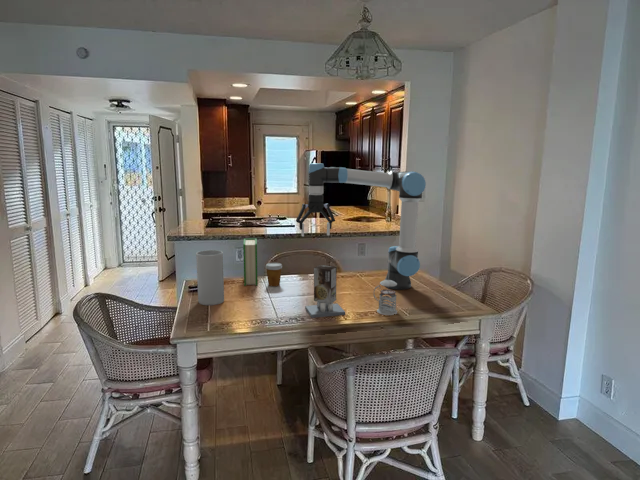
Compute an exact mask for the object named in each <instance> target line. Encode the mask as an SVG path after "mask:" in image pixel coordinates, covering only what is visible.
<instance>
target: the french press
mask: <svg viewBox="0 0 640 480" xmlns="http://www.w3.org/2000/svg"><path fill="white" fill-rule="evenodd" d="M388 263H391V260H388V259H387V264H388ZM396 285H397V283H396V282H394V281H392V280H389V276H388V280H385V279H383V280H382V281H380V282H379V284H378V285H377V286H375V287H374V289H373V292H375V291H376V289H377V288H381V286H383V287H385V286H387V287H394V286H396ZM387 287H386V289H381V290H380V293H379V298H378V297H376V295H375V294H373V298H374V299H375V300H376V301H378V309H377V310H376V313H378V314H380V315H383V316H384V315H385V316H394V314H395V315H397V314H398V313H397V312H398V310H397V308H396V307H397V295H396V293H397V292H396V291H395V289H390V288H387Z"/></svg>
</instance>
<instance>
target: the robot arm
mask: <svg viewBox="0 0 640 480" xmlns="http://www.w3.org/2000/svg"><path fill="white" fill-rule="evenodd" d="M425 179H426V178H425V177H424V176H423V175H422V173H419V172H417V171H408V170H407V171H406V170H405V171H389V172H379V171H370V170H361V169H352V168H346V167H342V166H339V167H336V166H330V167H325V165H324V163H318V162H317V163H314V162H313V163H309V165H308V202H307V203H308V204H305V203H302V205H301V209H300V211H299V213H298V215H297V217H296V219H295V222H296V223H298V224H299V228H298V229H299V230H300V231H301V232H300V234H301V235H300V236H301V237H305V220H306V219H307V218H308V217H309V216H310V215H311V214H315V213H317V214H319V213H321V214H322V216H323V217H324V218H325V220H327V222H326V236H330V235H331V234H330V232H331V230H332V227H333V226H332V224H333V222H336V218H335V216H334V215H333V214H334V213H333V212H332V210H331V208H330V204H329V203H324V183H331V184H333V183H336V184H337V183H338V184H339V183H340V184H343V183H344V184H351V185H353V184H354V185H362V186H363V185H365V186H372V187H379V188H380V187H382V188H386V189H387V190H390V191H391V190H392V191H396V192H398V198H399V199H400V201H401V207H400V223H399V240H398V245H393V246H390V247H388V259H387V261H388V260H391V263H388V262H387V274H386V276H385V278H384V280H388V276H389V280H392V281H394V282H396V283H397V285H396V286H394V287H387V286H384V287H385V288H386V289H389V290H398V291H399V290H402V291H403V290H404V291H405V290H409V289H410V288H411V289H412V280H411V277H412V276H414V275H416V274H417V273H418V272H419V270H420V268H421V262H420V259H419V249H418V248H417V247H416V244H417V230H418V215H419V214H418V213H419V212H418V211H419V202H420V201H421V200H422V199H423V192H424V191H425V189H426V185H427V182H426V180H425ZM307 208H308V210H307V211H306V213H305V210H306V209H307ZM323 208H325V209H326V211H327V213H328V214H327V213H326V211H324V210H323ZM304 213H305V214H304ZM303 214H304V215H303ZM328 215H329V216H328Z"/></svg>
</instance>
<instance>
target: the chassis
mask: <svg viewBox="0 0 640 480" xmlns="http://www.w3.org/2000/svg"><path fill="white" fill-rule="evenodd" d="M304 307H305V308H304V309H305V311H306V312H307V313H308V315H309V317H310V318H313V319H314V318H326V317H335V316H345V315H346V311H345V310H344V309H343V308H342V306H340V305H339V303H334V302H333V303H324V302H318V301H316V304H314V305H313V304H311V305H305V306H304Z"/></svg>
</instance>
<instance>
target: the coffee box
mask: <svg viewBox="0 0 640 480" xmlns="http://www.w3.org/2000/svg"><path fill="white" fill-rule="evenodd" d="M337 272H338V271H337V266H334V265H325V264H318V265H317V266H314V267H313V301H314V302H317V301H318V302H324V303H333V304H334V302H336V301H337Z"/></svg>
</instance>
